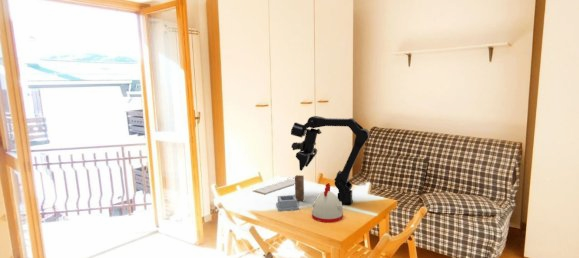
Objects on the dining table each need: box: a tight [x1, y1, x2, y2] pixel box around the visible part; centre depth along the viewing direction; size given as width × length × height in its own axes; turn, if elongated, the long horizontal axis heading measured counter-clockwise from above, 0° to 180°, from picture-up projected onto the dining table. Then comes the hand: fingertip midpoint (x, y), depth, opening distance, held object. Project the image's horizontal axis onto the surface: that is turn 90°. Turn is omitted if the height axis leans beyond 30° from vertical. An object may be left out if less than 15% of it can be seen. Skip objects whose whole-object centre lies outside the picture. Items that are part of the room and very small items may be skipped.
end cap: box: [275, 194, 300, 212], centre depth 159 cm, size 10×10×4 cm
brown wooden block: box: [294, 174, 305, 203], centre depth 168 cm, size 4×3×13 cm
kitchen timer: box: [311, 182, 344, 224], centre depth 145 cm, size 14×14×15 cm
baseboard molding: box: [252, 177, 295, 195], centre depth 195 cm, size 31×3×12 cm
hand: (303, 168), depth 170 cm, fingers open, 9 cm apart
